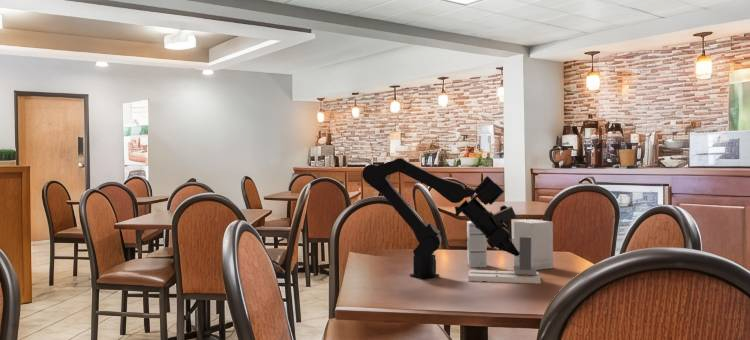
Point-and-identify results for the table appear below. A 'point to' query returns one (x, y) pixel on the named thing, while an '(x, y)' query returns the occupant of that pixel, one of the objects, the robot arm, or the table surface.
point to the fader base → (502, 276)
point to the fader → (525, 257)
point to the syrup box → (476, 247)
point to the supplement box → (536, 242)
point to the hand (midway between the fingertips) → (518, 255)
